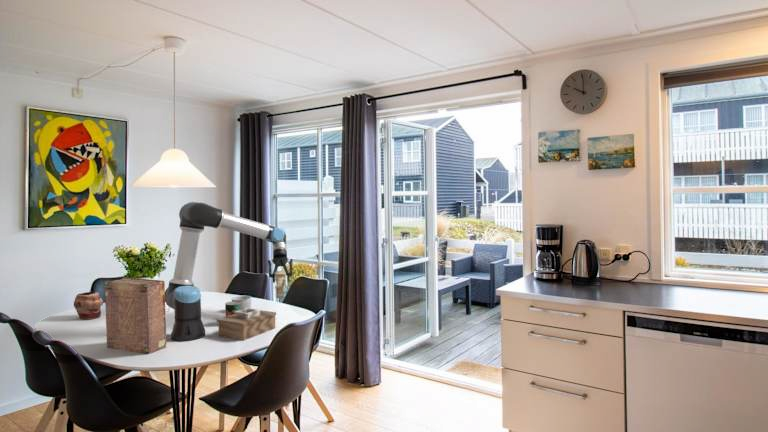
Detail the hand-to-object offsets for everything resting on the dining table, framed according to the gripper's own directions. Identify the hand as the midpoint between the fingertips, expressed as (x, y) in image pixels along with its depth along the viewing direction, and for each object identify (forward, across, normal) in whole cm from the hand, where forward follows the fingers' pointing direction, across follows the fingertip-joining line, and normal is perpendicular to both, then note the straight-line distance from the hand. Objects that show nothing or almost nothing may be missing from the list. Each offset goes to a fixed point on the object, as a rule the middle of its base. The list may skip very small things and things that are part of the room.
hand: (281, 286), depth 244 cm
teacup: (-10, +22, -37) cm, 44 cm away
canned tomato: (+10, +25, -17) cm, 32 cm away
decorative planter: (-14, +104, -40) cm, 113 cm away
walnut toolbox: (+22, +17, -4) cm, 28 cm away
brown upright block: (+30, +64, +4) cm, 71 cm away
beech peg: (+2, +1, -7) cm, 7 cm away
